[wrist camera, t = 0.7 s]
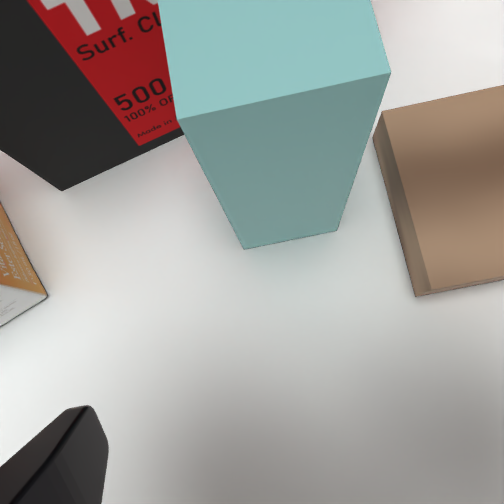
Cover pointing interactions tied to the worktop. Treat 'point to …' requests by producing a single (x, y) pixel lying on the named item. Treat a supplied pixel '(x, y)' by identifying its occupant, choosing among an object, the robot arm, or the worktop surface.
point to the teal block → (276, 105)
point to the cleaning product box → (82, 85)
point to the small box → (15, 275)
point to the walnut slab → (447, 187)
